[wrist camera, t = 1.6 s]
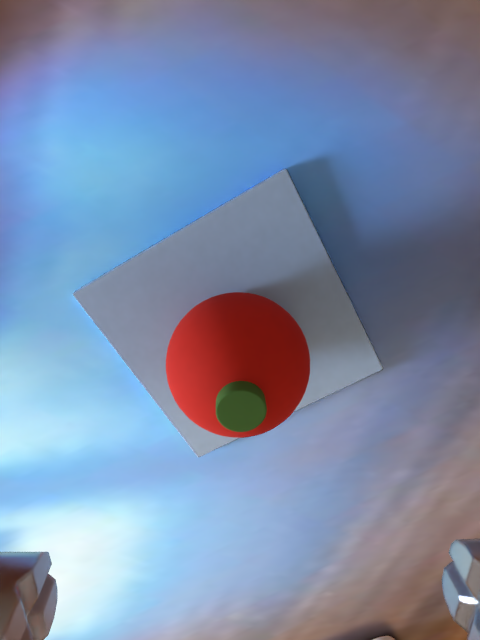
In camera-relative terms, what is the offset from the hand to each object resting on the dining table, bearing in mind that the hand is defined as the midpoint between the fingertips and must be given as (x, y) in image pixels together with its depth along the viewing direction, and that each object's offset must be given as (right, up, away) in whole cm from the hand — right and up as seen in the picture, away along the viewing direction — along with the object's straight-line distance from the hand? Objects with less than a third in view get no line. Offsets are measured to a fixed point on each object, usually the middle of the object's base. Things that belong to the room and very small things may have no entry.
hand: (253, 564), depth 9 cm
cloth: (0, +5, +10) cm, 11 cm away
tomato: (0, +4, +10) cm, 11 cm away
